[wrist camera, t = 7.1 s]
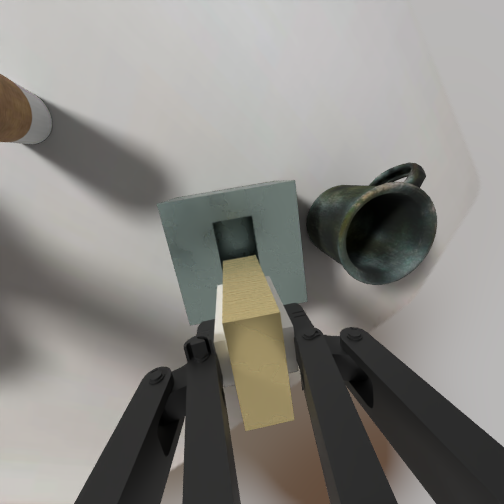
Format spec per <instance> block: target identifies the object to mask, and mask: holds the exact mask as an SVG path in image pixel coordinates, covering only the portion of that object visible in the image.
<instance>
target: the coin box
mask: <svg viewBox="0 0 504 504" xmlns="http://www.w3.org/2000/svg"><path fill="white" fill-rule="evenodd" d="M157 207H158V210H159V214H160V218H161V221H162V225H163V228H164V232H165V236H166V239H167V243H168V247H169V250H170V254H171V258H172V261H173V265H174V269H175V272H176V276H177V279H178V283H179V287H180V290H181V294H182V298H183V301H184V305H185V309H186V312H187V316H188V320H189V323H190V325H195V324H200V323H201V322H202V321H207V320H212V319H215V313H216V298H217V285H222V284H223V261H226V260H231V259H237V258H243V257H248V256H254V255H256V257H257V260H258V262H259V264H260V266H261V269H262V271H263V273H264V276H269V277H270V279H271V281H272V283H273V285H274V287H275V289H276V291H277V293H278V295H279V298H280V300H281V302H282V304H283V305H286V304H291V303H297V304H298V303H303V302H307V293H306V283H305V273H304V263H303V253H302V243H301V234H300V224H299V214H298V204H297V194H296V184H295V180H291V181H272V182H266V183H260V184H254V185H248V186H242V187H236V188H230V189H224V190H218V191H212V192H207V193H201V194H195V195H189V196H183V197H177V198H174V199H170V200H167V201H164V202H161V203H158V204H157Z"/></svg>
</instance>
